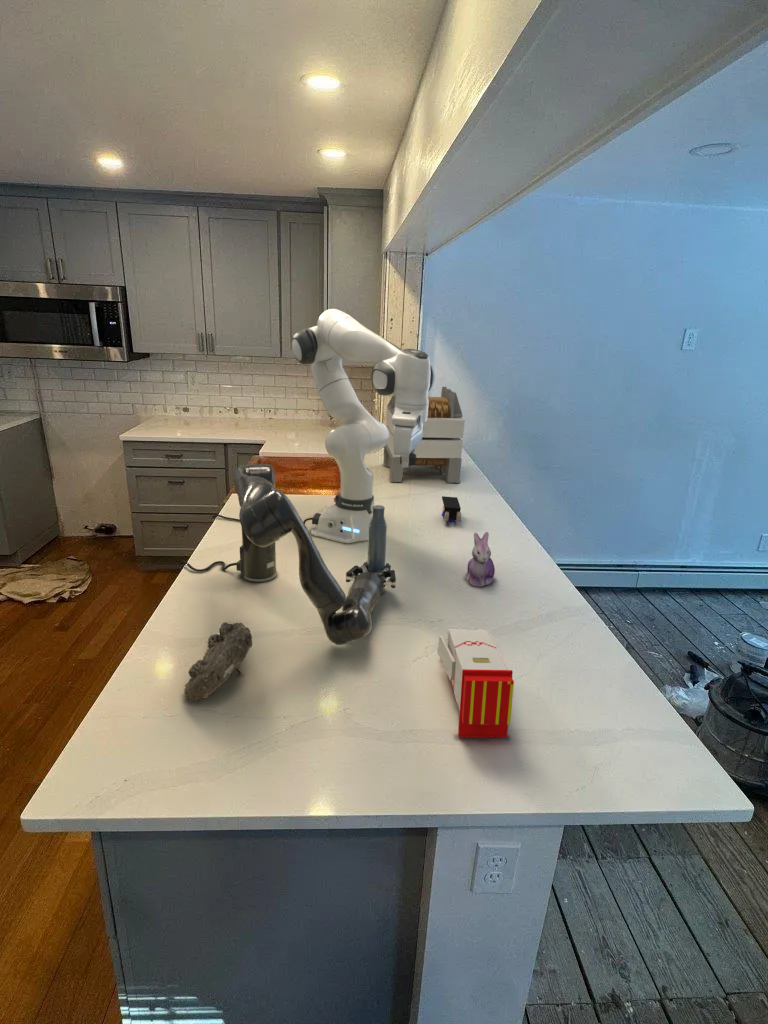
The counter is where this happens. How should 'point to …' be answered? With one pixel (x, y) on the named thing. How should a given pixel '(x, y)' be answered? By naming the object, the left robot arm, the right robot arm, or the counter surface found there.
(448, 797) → the counter surface
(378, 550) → the bottle
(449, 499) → the figurine character
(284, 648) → the counter surface
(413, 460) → the cap
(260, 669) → the counter surface
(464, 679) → the toy
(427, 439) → the transformer
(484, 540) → the figurine
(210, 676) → the fossil
